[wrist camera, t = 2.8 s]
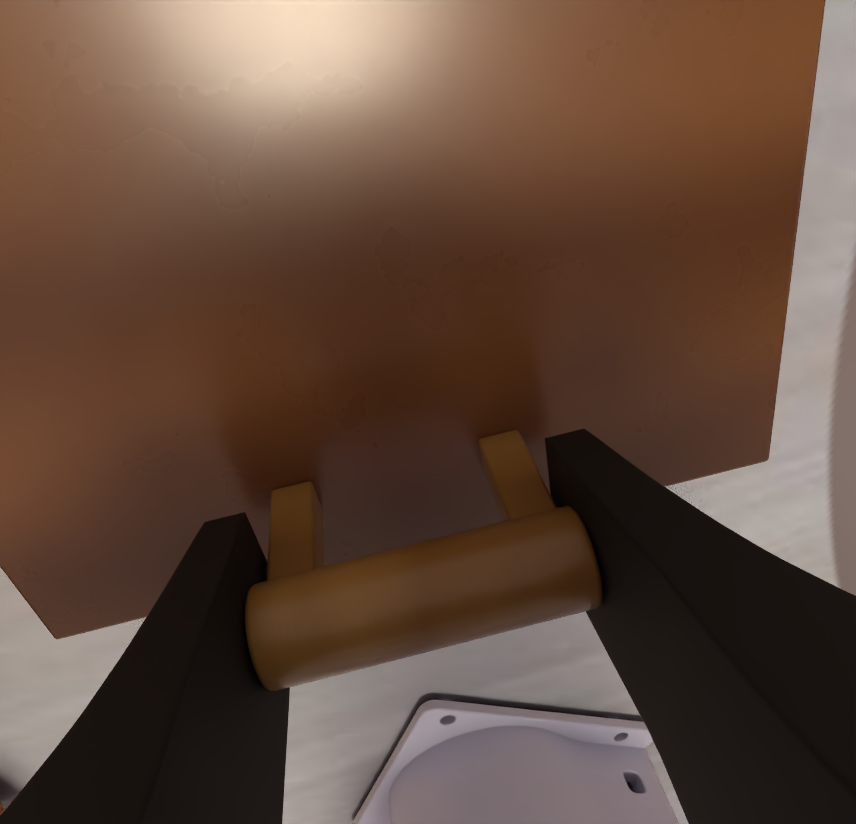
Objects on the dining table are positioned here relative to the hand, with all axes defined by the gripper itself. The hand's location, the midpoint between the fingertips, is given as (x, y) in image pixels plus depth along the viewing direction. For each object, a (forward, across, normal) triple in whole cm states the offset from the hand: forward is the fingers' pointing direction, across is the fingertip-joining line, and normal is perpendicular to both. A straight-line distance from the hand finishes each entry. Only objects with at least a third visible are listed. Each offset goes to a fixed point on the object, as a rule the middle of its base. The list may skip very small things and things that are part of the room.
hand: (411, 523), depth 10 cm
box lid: (+2, 0, -4) cm, 4 cm away
